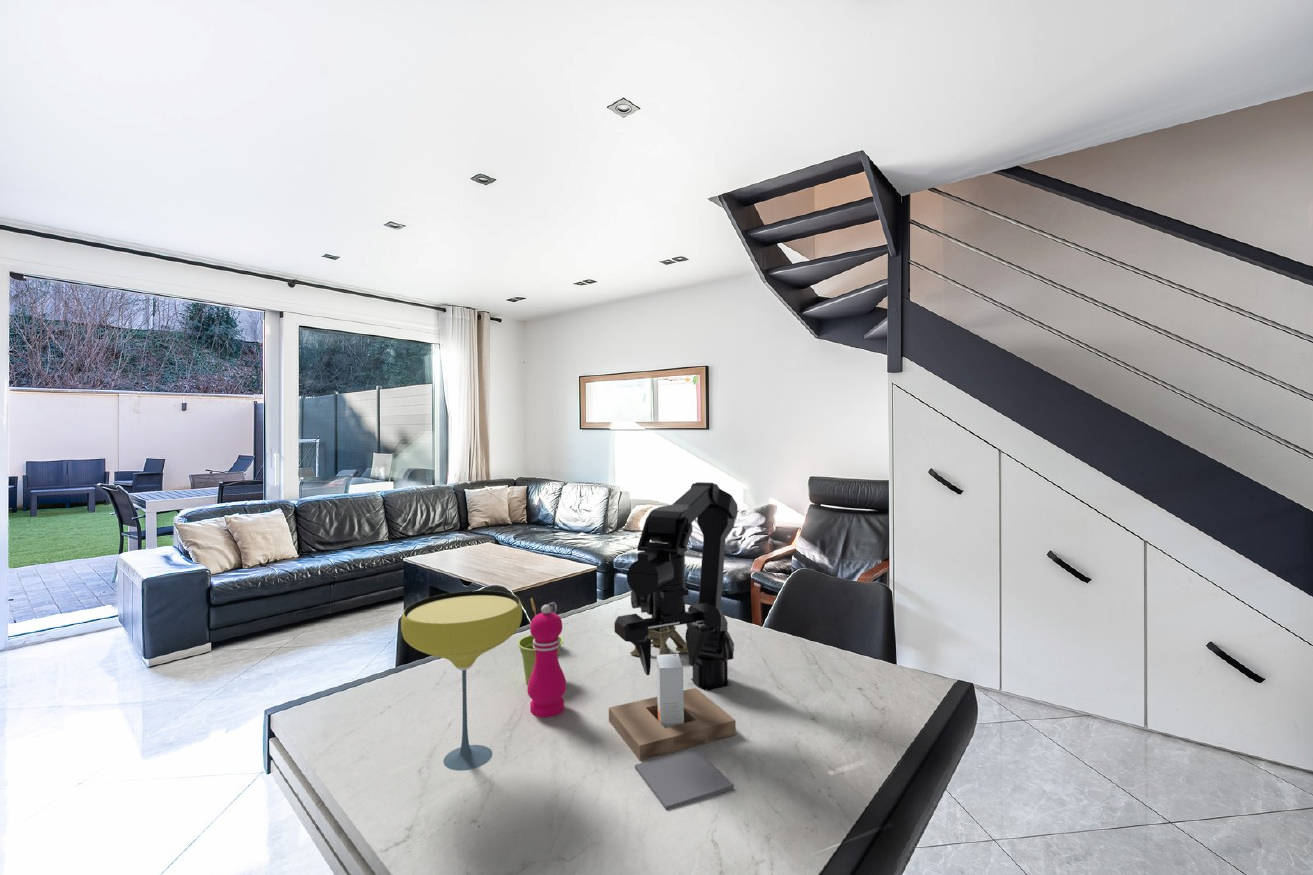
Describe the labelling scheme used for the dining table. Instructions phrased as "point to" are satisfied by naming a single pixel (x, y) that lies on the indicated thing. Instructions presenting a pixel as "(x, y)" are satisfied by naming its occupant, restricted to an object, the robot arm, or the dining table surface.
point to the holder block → (656, 740)
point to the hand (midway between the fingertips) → (669, 669)
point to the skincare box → (670, 690)
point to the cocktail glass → (462, 643)
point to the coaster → (683, 778)
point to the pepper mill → (546, 666)
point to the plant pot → (530, 654)
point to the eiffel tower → (662, 636)
